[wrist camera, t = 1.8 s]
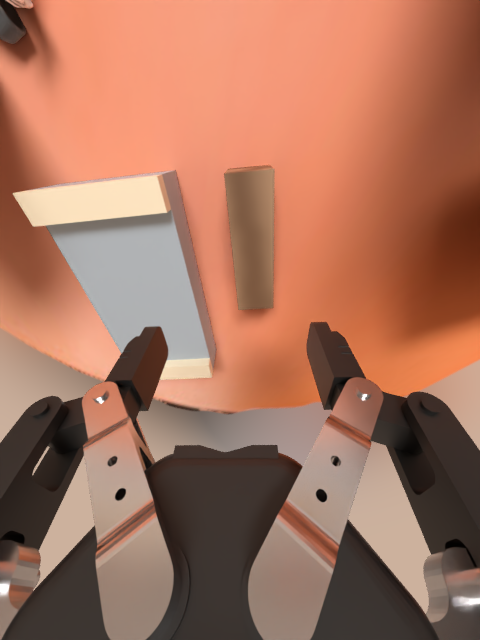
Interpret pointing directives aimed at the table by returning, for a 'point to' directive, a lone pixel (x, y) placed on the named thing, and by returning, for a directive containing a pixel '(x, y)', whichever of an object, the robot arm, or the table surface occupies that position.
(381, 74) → the table surface
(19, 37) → the can opener
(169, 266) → the blue and cream box
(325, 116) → the table surface
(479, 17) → the table surface
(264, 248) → the brown block
